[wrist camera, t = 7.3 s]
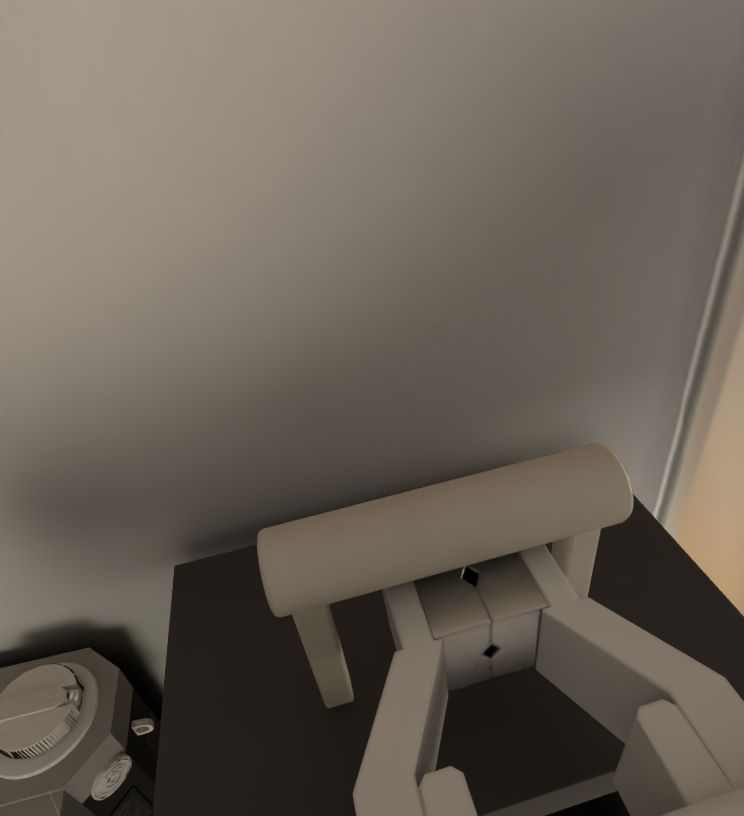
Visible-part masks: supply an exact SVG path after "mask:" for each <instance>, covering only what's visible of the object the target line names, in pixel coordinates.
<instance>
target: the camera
mask: <svg viewBox="0 0 744 816" xmlns="http://www.w3.org/2000/svg"><path fill="white" fill-rule="evenodd" d="M160 726H161V724H160V722H159V721H158V719H157V718H156V717H155V715H154V714H153V712H152V711H151V710H150V708H148V707H147V706H146V705H145V704H144V702H143V701H142V699H141V698H140V697H139V695H138V694H137V693H136V691H135V690H134V688H133V687H132V686H131V684H130V683H129V681H128V680H127V679H126V677H125V676H124V674H123V673H122V672H121V670H120V669H119V668H118V667H116V666H115V665H114V664H112V663H111V662H109V661H108V660H106V659H105V658H104V657H102V656H101V655H99V654H98V653H96V652H95V651H94V650H92V649H91V648H85V649H81V650H76V651H72V652H68V653H63V654H59V655H55V656H51V657H46V658H42V659H38V660H34V661H29V662H25V663H21V664H16V665H12V666H8V667H4V668H0V816H153V806H154V794H155V783H156V771H157V760H158V748H159V737H160Z"/></svg>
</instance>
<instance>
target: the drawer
mask: <svg viewBox="0 0 744 816" xmlns="http://www.w3.org/2000/svg"><path fill="white" fill-rule="evenodd" d="M543 544H545V546H546V547H547V549H548V550H549V552H550V554H551V555H552V557H553V558H554V560H555V561H556V563H557V565H558V566H559V568H560V569H561V571H562V572H563V574H564V576H565V577H566V579H567V580H568V582H569V583H570V585H571V587H572V588H573V590H574V591H575V593H576V594H577V596H578V597H579V598H583V597H589V598H590V599H592V600H594V601H595V602H597V603H599V604H600V605H602V606H604V607H606V608H607V609H609V610H611V611H612V612H614V613H616V614H618V615H619V616H621V617H623V618H624V619H626V620H628V621H629V622H631V623H633V624H635V625H636V626H638V627H640V628H641V629H643V630H645V631H647V632H648V633H650V634H652V635H653V636H655V637H657V638H658V639H660V640H662V641H664V642H665V643H667V644H669V645H670V646H672V647H674V648H676V649H677V650H679V651H681V652H682V653H684V654H686V655H687V656H689V657H691V658H693V659H694V660H696V661H698V662H699V663H701V664H703V665H705V666H706V667H708V668H710V669H711V670H713V671H715V672H716V673H718V674H720V675H722V676H723V677H725V678H726V679H727V681H728V682H729V683H730V685H731V686H732V687H733V688H734V690H735V691H736V692H737V693H738V695H739V696H740V697H741V699H742V700H743V701H744V616H743V615H742V614H741V613H740V612H739V611H738V609H737V608H736V607H735V606H734V605H733V604H732V603H731V602H730V601H729V599H728V598H727V597H726V596H725V595H724V594H723V593H722V592H721V591H720V590H719V588H718V587H717V586H716V585H715V584H714V583H713V582H712V581H711V580H710V579H709V577H708V576H707V575H706V574H705V573H704V572H703V571H702V570H701V569H700V568H699V567H698V565H697V564H696V563H695V562H694V561H693V560H692V559H691V557H690V556H689V555H688V554H687V553H686V552H685V551H684V550H683V549H682V548H681V546H680V545H679V544H678V543H677V542H676V541H675V540H674V539H673V538H672V536H671V535H670V534H669V533H668V532H667V531H666V530H665V529H664V528H663V526H662V525H661V524H660V523H659V522H658V521H657V520H656V519H655V518H654V517H653V515H652V514H651V513H650V512H649V511H648V510H647V509H646V508H645V507H644V505H643V504H642V503H641V502H640V501H639V500H638V499H637V498H636V497H635V495H634V494H633V492H632V487H631V483H630V480H629V477H628V474H627V472H626V470H625V468H624V466H623V464H622V463H621V461H620V460H619V458H618V457H617V456H616V455H615V453H614V452H613V451H612V450H610V449H609V448H608V447H606V446H604V445H601V444H590V445H586V446H582V447H578V448H574V449H570V450H566V451H562V452H559V453H555V454H551V455H547V456H543V457H539V458H535V459H531V460H528V461H524V462H520V463H516V464H512V465H508V466H504V467H500V468H497V469H493V470H489V471H485V472H481V473H477V474H473V475H469V476H465V477H462V478H458V479H454V480H450V481H446V482H442V483H438V484H434V485H431V486H427V487H423V488H419V489H415V490H411V491H407V492H403V493H400V494H396V495H392V496H388V497H384V498H380V499H376V500H372V501H368V502H365V503H361V504H357V505H353V506H349V507H345V508H341V509H337V510H334V511H330V512H326V513H322V514H318V515H314V516H310V517H306V518H303V519H299V520H295V521H291V522H287V523H283V524H279V525H275V526H271V527H268V528H264V529H262V530H261V531H259V533H258V538H257V545H253V546H249V547H245V548H241V549H238V550H234V551H230V552H226V553H222V554H218V555H215V556H211V557H207V558H203V559H199V560H195V561H192V562H188V563H184V564H180V565H176V566H175V567H174V577H173V589H172V600H171V612H170V623H169V634H168V646H167V657H166V669H165V680H164V691H163V703H162V714H161V726H160V737H159V748H158V760H157V771H156V783H155V794H154V806H153V816H356V811H355V805H354V799H353V791H354V787H355V784H356V781H357V777H358V774H359V770H360V767H361V764H362V760H363V757H364V754H365V750H366V747H367V743H368V740H369V737H370V733H371V730H372V727H373V723H374V720H375V716H376V713H377V710H378V706H379V703H380V699H381V696H382V693H383V689H384V686H385V683H386V679H387V676H388V672H389V669H390V666H391V662H392V659H393V656H394V652H396V651H397V650H396V646H395V643H394V639H393V636H392V632H391V628H390V624H389V620H388V615H387V611H386V606H385V602H384V596H383V591H382V589H385V588H388V587H392V586H396V585H399V584H403V583H406V582H410V581H414V580H417V579H421V578H424V577H428V576H432V575H435V574H439V573H442V572H446V571H450V570H453V569H457V568H460V567H464V566H468V565H471V564H475V563H478V562H482V561H486V560H489V559H493V558H496V557H500V556H503V555H507V554H511V553H514V552H518V551H521V550H525V549H529V548H532V547H536V546H539V545H543ZM535 668H536V667H532V668H528V669H524V670H521V671H517V672H513V673H510V674H506V675H502V676H499V677H495V678H491V679H488V680H485V681H482V682H479V683H476V684H473V685H470V686H467V687H464V688H461V689H458V690H455V691H452V692H449V693H448V700H447V706H446V712H445V717H444V723H443V729H442V734H441V740H440V746H439V752H438V757H437V763H436V769H435V771H437V770H440V769H443V768H446V767H449V766H452V767H453V768H455V769H457V770H459V771H461V772H463V774H464V777H465V780H466V783H467V786H468V789H469V792H470V795H471V798H472V801H473V804H474V807H475V810H476V813H477V816H630V814H629V812H628V810H627V808H626V806H625V804H624V802H623V800H622V798H621V796H620V794H619V792H618V790H617V788H616V786H615V784H614V782H613V778H614V775H615V772H616V769H617V766H618V763H619V760H620V758H621V755H622V752H623V749H624V746H625V743H624V742H622V741H621V740H620V739H619V738H618V737H616V736H615V735H614V734H613V733H612V732H610V731H609V730H608V729H607V728H606V727H604V726H603V725H602V724H601V723H600V722H598V721H597V720H596V719H595V718H594V717H592V716H591V715H590V714H589V713H588V712H586V711H585V710H584V709H583V708H582V707H580V706H579V705H578V704H577V703H576V702H574V701H573V700H572V699H571V698H569V697H568V696H567V695H566V694H565V693H563V692H562V691H561V690H560V689H559V688H557V687H556V686H555V685H554V684H553V683H551V682H550V681H549V680H548V679H547V678H545V677H544V676H543V675H542V674H541V673H539V672H538V671H537V670H536V669H535Z"/></svg>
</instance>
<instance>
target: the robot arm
mask: <svg viewBox="0 0 744 816" xmlns="http://www.w3.org/2000/svg"><path fill="white" fill-rule="evenodd" d="M382 591H383V596H384V602H385V606H386V611H387V615H388V620H389V624H390V628H391V632H392V636H393V639H394V643H395V646H396V650H397V651H396V652H394V656H393V659H392V662H391V666H390V669H389V672H388V676H387V679H386V683H385V686H384V689H383V693H382V696H381V699H380V703H379V706H378V710H377V713H376V716H375V720H374V723H373V727H372V730H371V733H370V737H369V740H368V743H367V747H366V750H365V754H364V757H363V760H362V764H361V767H360V770H359V774H358V777H357V781H356V784H355V787H354V791H353V799H354V805H355V811H356V816H477V813H476V810H475V807H474V804H473V801H472V798H471V795H470V792H469V789H468V786H467V783H466V780H465V777H464V774H463V772H461V771H459V770H457V769H455V768H453V767H452V766H449V767H446V768H443V769H440V770H437V771H435V769H436V763H437V757H438V752H439V746H440V740H441V734H442V729H443V723H444V717H445V712H446V706H447V700H448V693H449V692H452V691H455V690H458V689H461V688H464V687H467V686H470V685H473V684H476V683H479V682H482V681H485V680H488V679H491V678H495V677H499V676H502V675H506V674H510V673H513V672H517V671H521V670H524V669H528V668H532V667H536V668H535V669H536V670H537V671H538V672H539V673H541V674H542V675H543V676H544V677H545V678H547V679H548V680H549V681H550V682H551V683H553V684H554V685H555V686H556V687H557V688H559V689H560V690H561V691H562V692H563V693H565V694H566V695H567V696H568V697H569V698H571V699H572V700H573V701H574V702H576V703H577V704H578V705H579V706H580V707H582V708H583V709H584V710H585V711H586V712H588V713H589V714H590V715H591V716H592V717H594V718H595V719H596V720H597V721H598V722H600V723H601V724H602V725H603V726H604V727H606V728H607V729H608V730H609V731H610V732H612V733H613V734H614V735H615V736H616V737H618V738H619V739H620V740H621V741H622V742H624V743H625V746H624V749H623V752H622V755H621V758H620V760H619V763H618V766H617V769H616V772H615V775H614V778H613V782H614V784H615V786H616V788H617V790H618V792H619V794H620V796H621V798H622V800H623V802H624V804H625V806H626V808H627V810H628V812H629V814H630V816H744V701H743V700H742V699H741V697H740V696H739V695H738V693H737V692H736V691H735V690H734V688H733V687H732V686H731V685H730V683H729V682H728V681H727V679H726V678H725V677H723V676H722V675H720V674H718V673H716V672H715V671H713V670H711V669H710V668H708V667H706V666H705V665H703V664H701V663H699V662H698V661H696V660H694V659H693V658H691V657H689V656H687V655H686V654H684V653H682V652H681V651H679V650H677V649H676V648H674V647H672V646H670V645H669V644H667V643H665V642H664V641H662V640H660V639H658V638H657V637H655V636H653V635H652V634H650V633H648V632H647V631H645V630H643V629H641V628H640V627H638V626H636V625H635V624H633V623H631V622H629V621H628V620H626V619H624V618H623V617H621V616H619V615H618V614H616V613H614V612H612V611H611V610H609V609H607V608H606V607H604V606H602V605H600V604H599V603H597V602H595V601H594V600H592V599H590V598H589V597H583V598H579V597H578V596H577V594H576V593H575V591H574V590H573V588H572V587H571V585H570V583H569V582H568V580H567V579H566V577H565V576H564V574H563V572H562V571H561V569H560V568H559V566H558V565H557V563H556V561H555V560H554V558H553V557H552V555H551V554H550V552H549V550H548V549H547V547H546V546H545V544H543V545H539V546H536V547H532V548H529V549H525V550H521V551H518V552H514V553H511V554H507V555H503V556H500V557H496V558H493V559H489V560H486V561H482V562H478V563H475V564H471V565H468V566H464V567H460V568H457V569H453V570H450V571H446V572H442V573H439V574H435V575H432V576H428V577H424V578H421V579H417V580H414V581H410V582H406V583H403V584H399V585H396V586H392V587H388V588H385V589H382Z"/></svg>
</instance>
